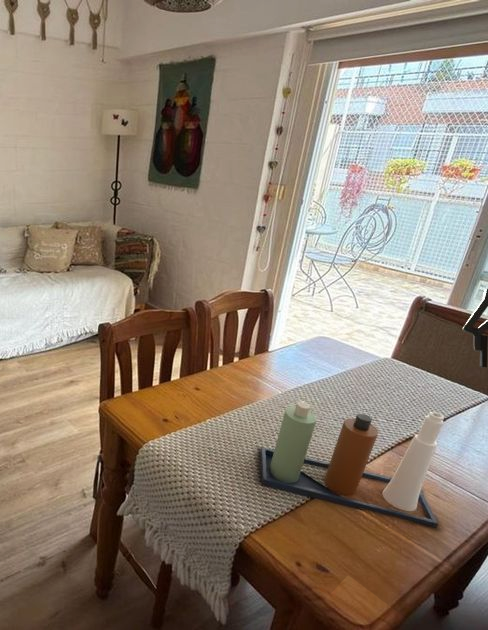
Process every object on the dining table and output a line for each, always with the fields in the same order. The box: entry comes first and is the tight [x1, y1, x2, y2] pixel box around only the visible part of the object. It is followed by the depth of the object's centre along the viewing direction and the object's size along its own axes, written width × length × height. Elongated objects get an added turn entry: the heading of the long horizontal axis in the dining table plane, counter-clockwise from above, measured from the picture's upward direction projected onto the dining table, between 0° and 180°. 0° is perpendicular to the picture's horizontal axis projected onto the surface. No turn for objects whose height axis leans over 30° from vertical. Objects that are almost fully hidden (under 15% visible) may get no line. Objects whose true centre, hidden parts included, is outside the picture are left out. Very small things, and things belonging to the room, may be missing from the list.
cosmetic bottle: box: [381, 411, 445, 512], centre depth 87 cm, size 6×6×22 cm
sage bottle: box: [270, 400, 318, 483], centre depth 95 cm, size 6×6×18 cm
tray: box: [259, 446, 439, 528], centre depth 95 cm, size 32×11×2 cm, turn 70°
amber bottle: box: [323, 413, 379, 497], centre depth 91 cm, size 6×6×18 cm
